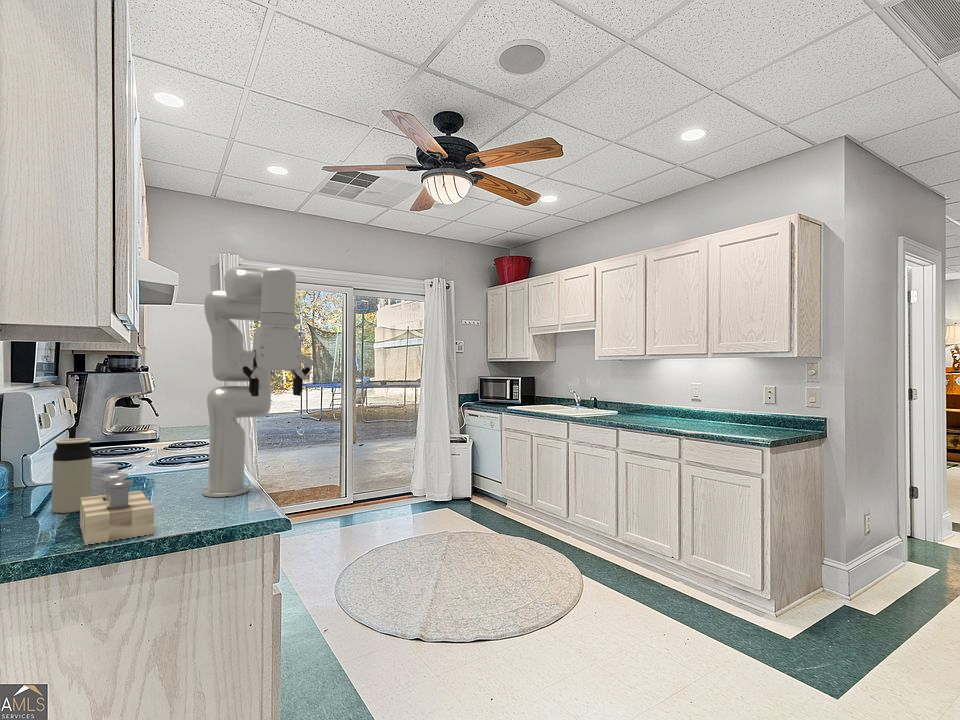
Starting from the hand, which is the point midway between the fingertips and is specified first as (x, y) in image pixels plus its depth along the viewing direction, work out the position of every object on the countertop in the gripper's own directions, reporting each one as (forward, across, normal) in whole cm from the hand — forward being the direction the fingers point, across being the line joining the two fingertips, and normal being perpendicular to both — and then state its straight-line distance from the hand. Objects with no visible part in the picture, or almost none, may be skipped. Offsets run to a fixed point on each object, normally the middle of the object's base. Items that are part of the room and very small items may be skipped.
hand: (276, 395), depth 120 cm
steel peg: (+26, +28, -27) cm, 47 cm away
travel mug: (+31, +35, -48) cm, 67 cm away
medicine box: (+31, +27, -63) cm, 76 cm away
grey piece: (+26, +28, -17) cm, 42 cm away
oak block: (+31, +28, -22) cm, 47 cm away
